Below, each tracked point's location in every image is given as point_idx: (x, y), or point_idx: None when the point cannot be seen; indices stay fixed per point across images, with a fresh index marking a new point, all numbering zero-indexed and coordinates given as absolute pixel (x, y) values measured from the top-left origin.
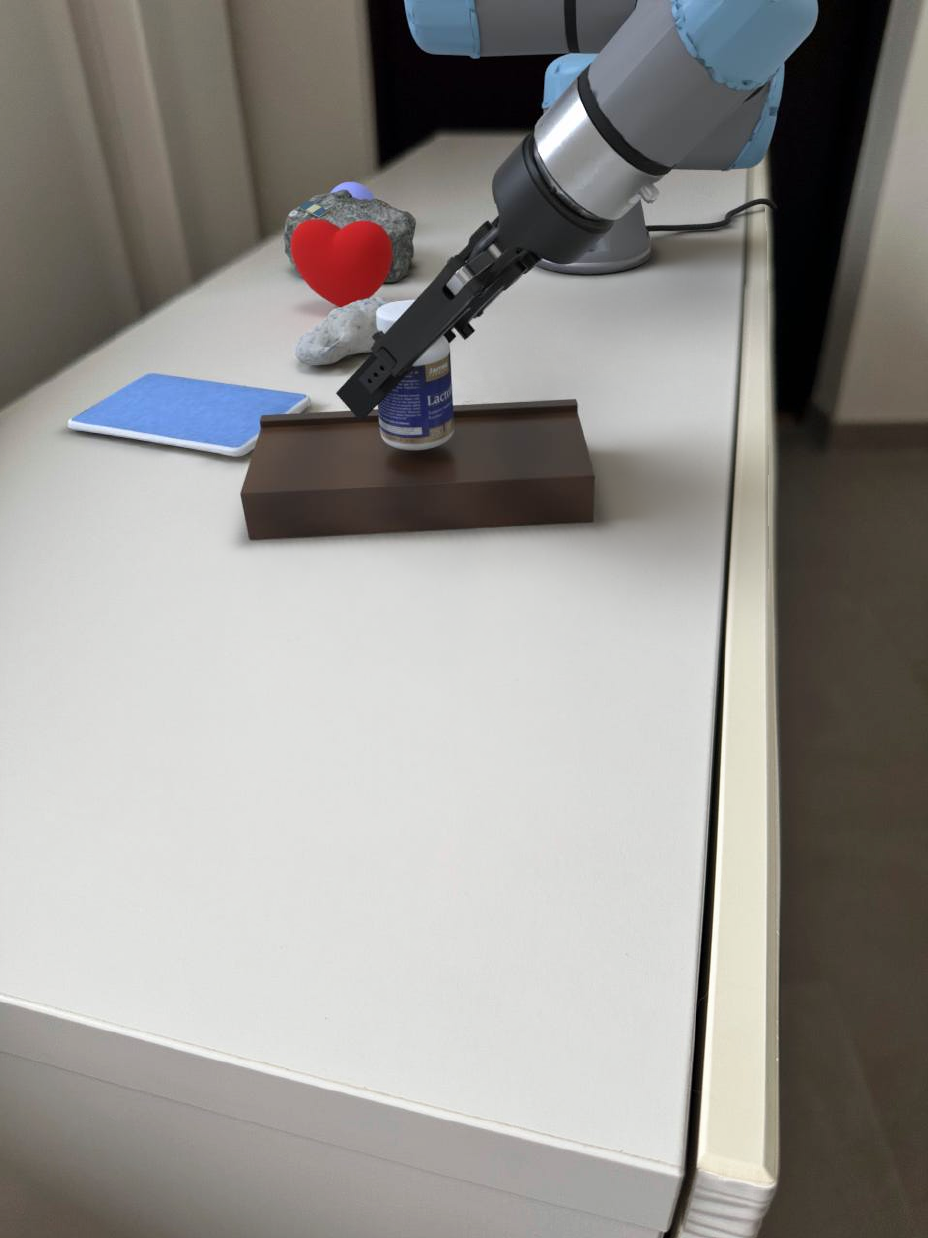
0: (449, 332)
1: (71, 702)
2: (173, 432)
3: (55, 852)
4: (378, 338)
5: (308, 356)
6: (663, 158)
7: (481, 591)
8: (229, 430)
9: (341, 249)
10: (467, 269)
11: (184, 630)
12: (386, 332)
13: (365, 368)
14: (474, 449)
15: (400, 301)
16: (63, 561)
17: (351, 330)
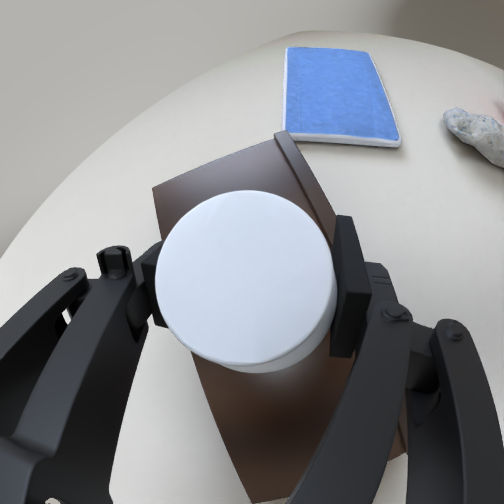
0: (344, 346)
1: (49, 215)
2: (294, 88)
3: (5, 263)
4: (99, 264)
5: (446, 121)
6: None
7: (139, 410)
8: (313, 114)
9: None
10: None
11: (83, 230)
12: (33, 298)
13: None
14: (283, 382)
15: (303, 222)
16: (143, 129)
17: (483, 138)
